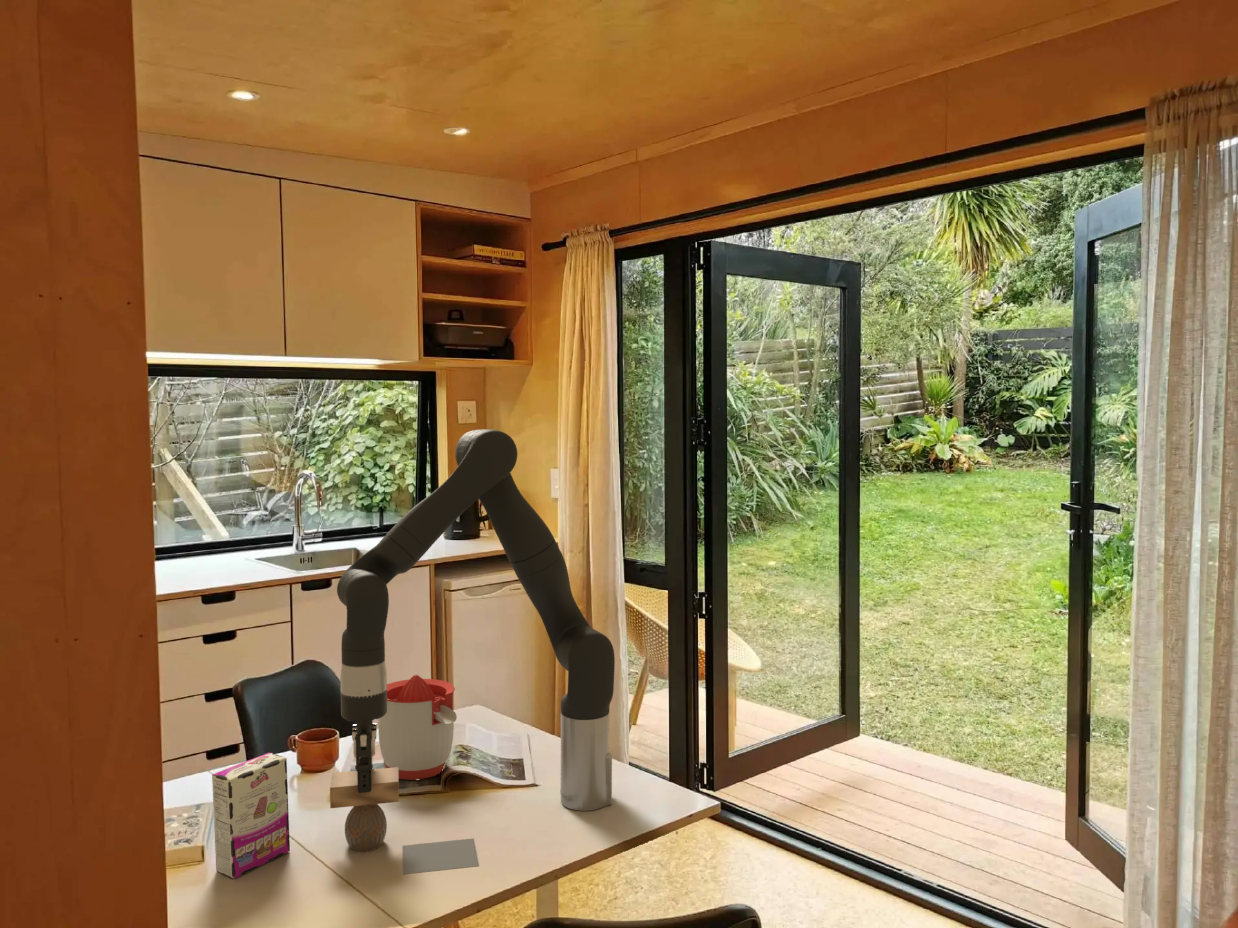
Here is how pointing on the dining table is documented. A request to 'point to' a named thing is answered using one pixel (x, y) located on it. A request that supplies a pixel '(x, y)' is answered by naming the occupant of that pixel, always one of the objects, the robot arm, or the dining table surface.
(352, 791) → the wooden rectangular block
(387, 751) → the citrus juicer
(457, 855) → the rubber mat
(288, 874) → the dining table surface
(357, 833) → the vase
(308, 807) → the dining table surface
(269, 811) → the candy bar box
